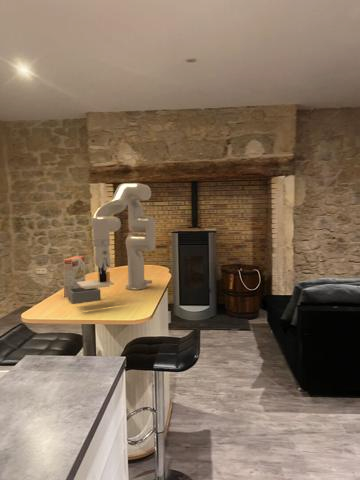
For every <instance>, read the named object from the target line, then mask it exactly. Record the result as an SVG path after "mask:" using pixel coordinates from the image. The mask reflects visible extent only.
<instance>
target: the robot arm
mask: <svg viewBox="0 0 360 480" xmlns="http://www.w3.org/2000/svg"><path fill="white" fill-rule="evenodd" d="M151 196H152V190H151V187H150V186H149V185H148V184H143V183H139V182H125V183H124V182H123V183H120V184H119V185H117V187H116V190H115V192H114V193H113V195H112V197H111V199H110V200H109V201H108V202H105V204H103V205H102V206H100V207H99V208H98V209H97V210H96V211H95V212H94V214H93V216H92V219H91V224H90V225H91V229H92V235H93V236H92V237H93V238H92V239H93V240H92V241H93V242H92V243H93V247H94V248H95V249H94V250H95V251H94V253H95V254H94V255H95V256H94V261H95V263H94V264H95V266H96V267H97V269H98V271H97V272H98V275H97V276H98V278H99V276H100V282H106V281H107V279H106V272H107V271H108V268H111V255H110V254H111V253H110V246H111V244H110V242H111V241H110V232H111V233H113V232H114V233H115V232H117V231H119V230H120V229H121V227H122V223H121V222H122V221H121V219H120V218H119V217H117V216H113V215H116V214H119V213H121V212H124V211H125V210H126V208H127V207H128V230H129V231H130V232H132V233H146V234H130V235H127V237H126V239H125V246H126V247H125V248H126V252H127V274H128V275H127V278H128V279H127V281H128V283H127V285H125V288H126V289H127V290H132V291H138V290H139V291H140V289H141V290H144V289H147V288H148V284H152V283H153V280H152V279H149V280H148V279H145V258H144V256H143V253H142V252H152V251H154V250H155V248H156V242H157V241H156V234H157V232H156V230H157V229H156V228H157V226H156V221H155V218H154V217H153V216H150V215H144V207H143V205H142V203H141V202H140V201H148V200H150V198H151ZM99 273H100V274H99Z"/></svg>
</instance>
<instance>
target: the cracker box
mask: <svg viewBox="0 0 360 480" xmlns="http://www.w3.org/2000/svg"><path fill="white" fill-rule="evenodd" d="M85 259H86V257H85V256H83V255H77V256H76V255H75V256H71V257H68V258H64V259H63V260H62V265H63V266H62V267H63V268H62V269H63V296H64V297H63V298H68V289H71V288H80V286H79V285H78V284H77V282H81V281H86V260H85Z"/></svg>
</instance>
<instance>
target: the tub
mask: <svg viewBox="0 0 360 480" xmlns="http://www.w3.org/2000/svg"><path fill="white" fill-rule="evenodd" d="M67 299H68V301H70V304H73V305H74V304H80V303H81V304H82V303H87V302H96V301H101V289H100V288H92V289H84V288H82V287H80V288H71V289H68V297H67Z"/></svg>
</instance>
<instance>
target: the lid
mask: <svg viewBox="0 0 360 480" xmlns="http://www.w3.org/2000/svg"><path fill="white" fill-rule="evenodd" d="M110 273H111V272H110V271H106V279H107V281H106V282H100V276H99V277H98V279H92V280H91V279H90V280H85V281H81V282H77V284H78V285H79V286H80V287H82V288H84V289H92V288H98V289H100V288H108V287H110V286H113V285H115V284H114V283H115V282H114V281H111V278H110V277H111V275H110ZM99 274H100V273H99Z"/></svg>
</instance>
